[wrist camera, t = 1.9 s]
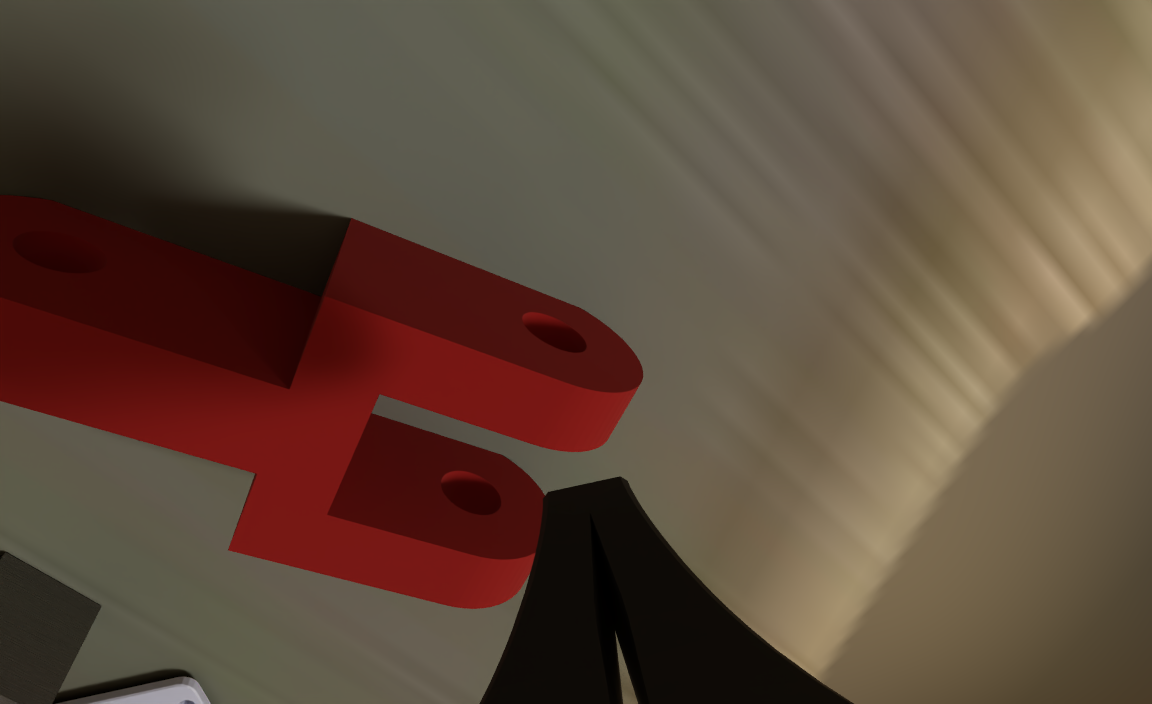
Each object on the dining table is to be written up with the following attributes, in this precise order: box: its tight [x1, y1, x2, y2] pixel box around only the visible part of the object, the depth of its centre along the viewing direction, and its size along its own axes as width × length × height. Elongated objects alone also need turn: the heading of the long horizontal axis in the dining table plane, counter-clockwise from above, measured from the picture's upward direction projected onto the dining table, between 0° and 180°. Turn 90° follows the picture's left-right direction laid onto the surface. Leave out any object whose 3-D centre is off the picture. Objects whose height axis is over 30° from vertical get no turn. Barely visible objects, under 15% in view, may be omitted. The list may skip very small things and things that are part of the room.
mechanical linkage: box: [0, 195, 643, 609], centre depth 20 cm, size 16×7×5 cm, turn 64°
